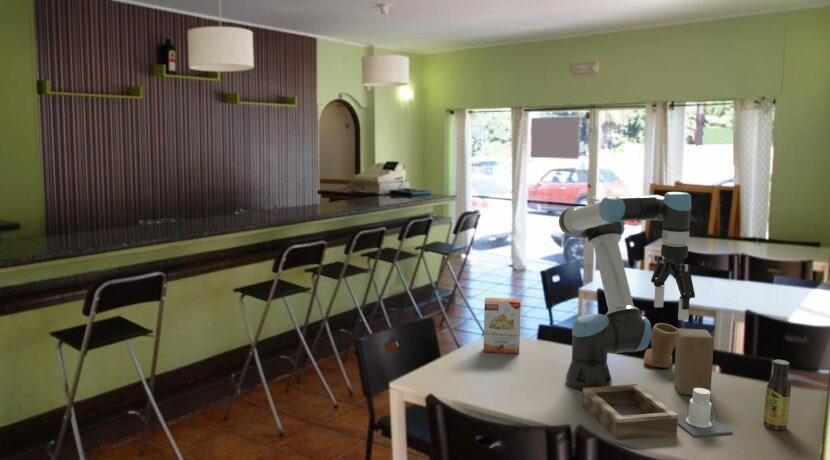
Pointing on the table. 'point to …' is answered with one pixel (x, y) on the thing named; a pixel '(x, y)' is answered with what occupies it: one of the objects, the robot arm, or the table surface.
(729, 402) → the table surface
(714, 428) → the rubber mat
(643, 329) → the robot arm
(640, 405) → the open wooden box
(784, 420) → the sauce bottle
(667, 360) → the tan boot
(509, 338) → the cracker box
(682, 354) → the wooden block
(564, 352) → the table surface
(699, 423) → the downlight
